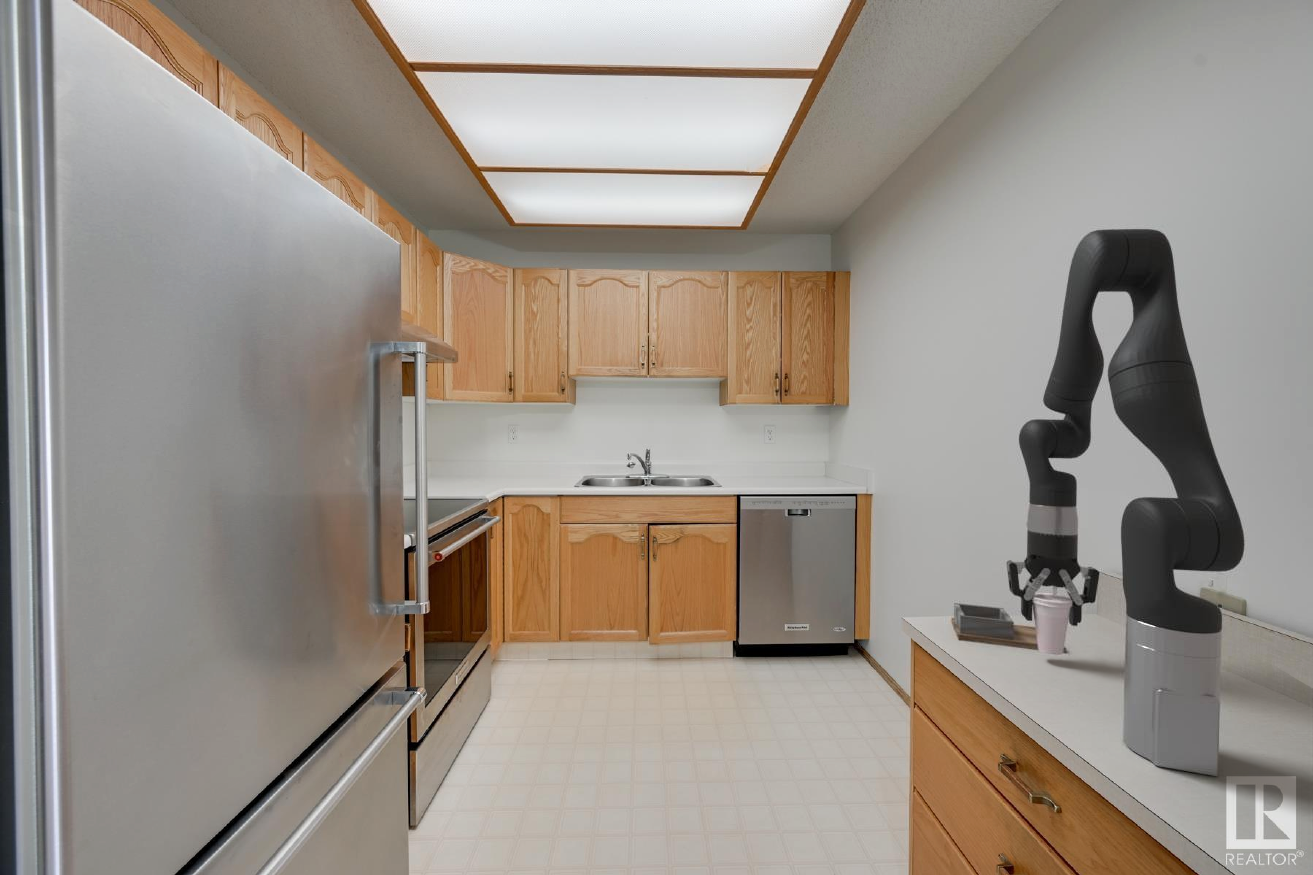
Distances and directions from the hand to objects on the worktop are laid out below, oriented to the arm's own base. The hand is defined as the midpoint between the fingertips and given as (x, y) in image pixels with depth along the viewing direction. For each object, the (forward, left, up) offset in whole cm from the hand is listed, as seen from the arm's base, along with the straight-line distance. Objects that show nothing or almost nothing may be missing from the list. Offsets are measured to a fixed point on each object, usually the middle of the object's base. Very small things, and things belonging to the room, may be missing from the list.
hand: (1050, 621), depth 103 cm
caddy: (+11, +5, -7) cm, 14 cm away
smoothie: (0, 0, -5) cm, 5 cm away
